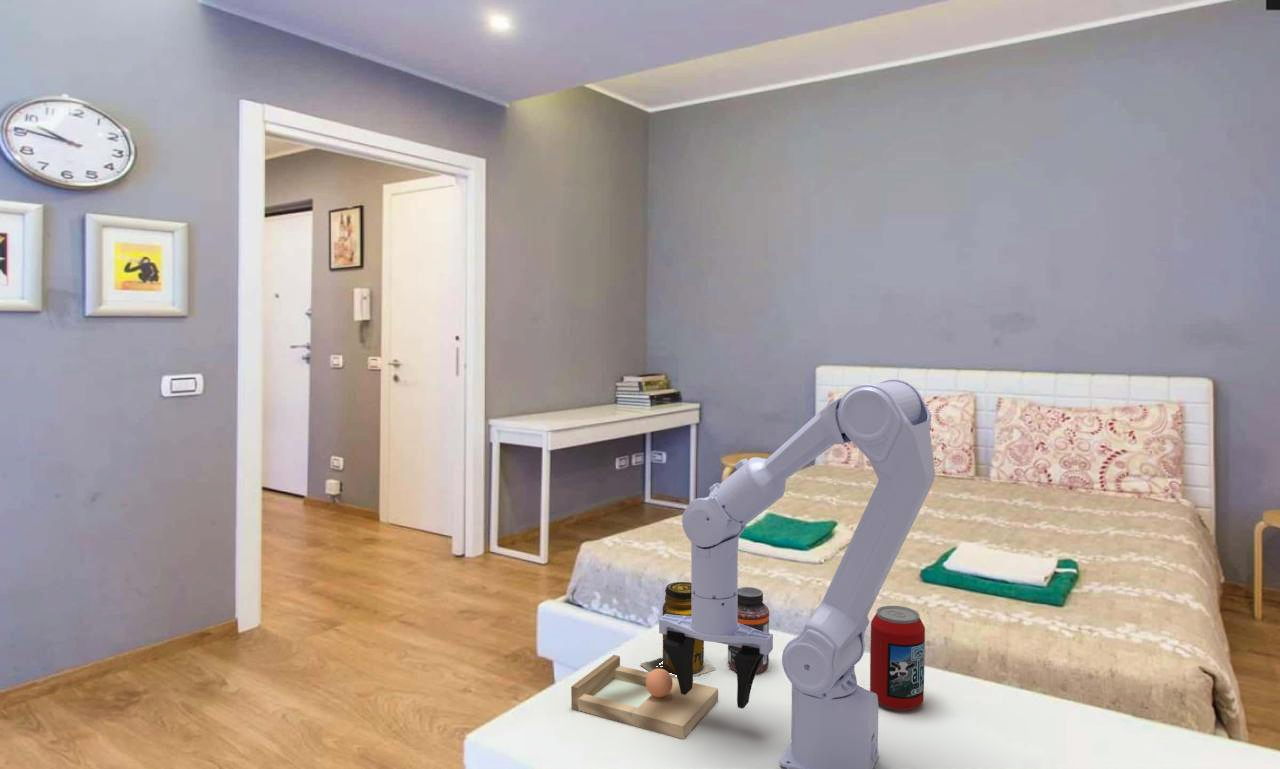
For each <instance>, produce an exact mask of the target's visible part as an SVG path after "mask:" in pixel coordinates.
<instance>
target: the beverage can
mask: <svg viewBox="0 0 1280 769" xmlns="http://www.w3.org/2000/svg"><path fill="white" fill-rule="evenodd" d="M920 616H921V615H920V613H919V612H917V611H916V610H914V609H913V608H910V607H906V606H902V605H884V606H880V607H879V608H877V609H876V612H875V614H874V616H873V618H872V620H870V644H869V645H870V646H869V647H870V649H869V650H870V651H869V652H870V655H869V657H870V658H869V674H870V675H869V691H871V692H874V693H876V694H877V697H878V704H880V705H881V706H883V707H884V708H887V709H890V710H895V711H909V710H913V709H914V708H917V707H919V706H921V705H922V704H923V702H924V693H925V691H924V690H925V661H926V660H925V657H926V656H925V655H926V654H925V652H926V651H925V650H926V644H925V643H926V632H925V631H926V628H925V625H924V623H923V622H922V619H921V618H920Z"/></svg>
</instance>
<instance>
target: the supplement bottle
mask: <svg viewBox="0 0 1280 769" xmlns="http://www.w3.org/2000/svg"><path fill="white" fill-rule="evenodd" d="M763 601H764V592H763V591H762V589H760V588H757V587H753V586H744V587H738V623H740V624H743V625H745V626H748V627H751V628H754V629H756V630H759V631H762V632H766V633H770V609H769V607H768V606H767V605H766V604H765V603H764V602H763ZM741 650H742V647H737V646H732V645H727V665H728V666H729V667H730V668H731V669H732V670H733V671H735V672H736V666H735V661H734V656H735V655H736V654H737V653H738V652H739V651H741ZM769 654H770V653H769ZM769 654H768V655H764V657H763V658H762V660H761V663H760V665H759V667H758V669H757V672H756V674H759V673H762V672H765V671H766V670H767V669H768V667H769V658H770V657H769Z"/></svg>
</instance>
